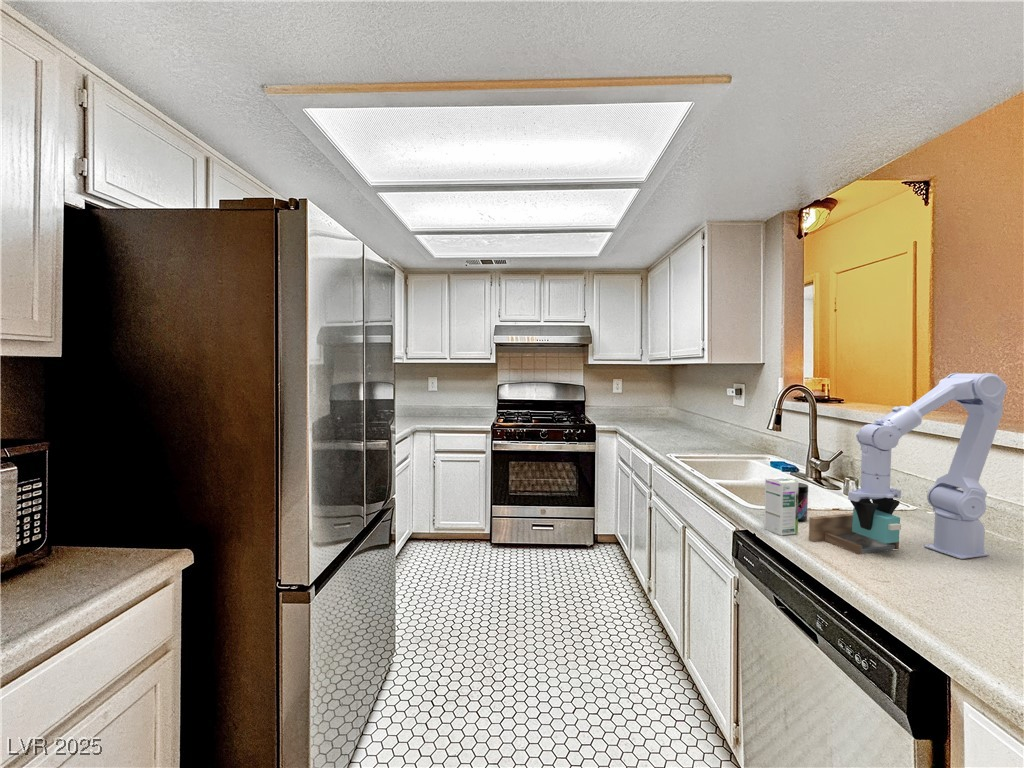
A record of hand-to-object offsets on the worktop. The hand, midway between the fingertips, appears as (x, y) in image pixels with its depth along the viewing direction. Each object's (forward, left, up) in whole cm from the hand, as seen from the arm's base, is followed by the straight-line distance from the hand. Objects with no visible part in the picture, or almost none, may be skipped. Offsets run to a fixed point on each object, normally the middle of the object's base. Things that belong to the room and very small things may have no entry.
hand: (873, 527), depth 115 cm
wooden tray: (0, -3, -5) cm, 6 cm away
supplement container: (-1, -24, -6) cm, 25 cm away
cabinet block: (0, 0, -2) cm, 2 cm away
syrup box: (+12, -16, -6) cm, 21 cm away
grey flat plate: (0, -3, -5) cm, 6 cm away
